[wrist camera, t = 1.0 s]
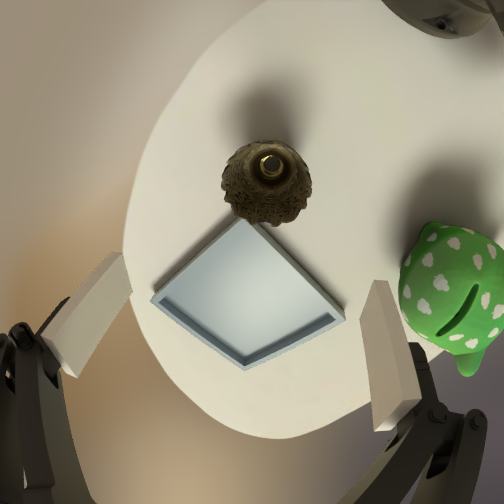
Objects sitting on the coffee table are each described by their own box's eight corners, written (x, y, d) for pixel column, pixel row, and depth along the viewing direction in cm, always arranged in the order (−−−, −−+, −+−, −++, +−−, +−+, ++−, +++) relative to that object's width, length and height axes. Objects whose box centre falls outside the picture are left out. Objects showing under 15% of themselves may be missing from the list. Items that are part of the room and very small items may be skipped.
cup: (310, 134, 27) (317, 147, 20) (302, 199, 31) (306, 232, 24) (238, 128, 27) (221, 139, 21) (236, 192, 31) (220, 223, 24)
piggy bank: (453, 309, 36) (486, 382, 23) (367, 281, 35) (392, 374, 22) (500, 237, 28) (556, 301, 16) (418, 186, 28) (488, 254, 15)
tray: (245, 210, 32) (242, 217, 30) (344, 310, 38) (345, 320, 36) (154, 292, 41) (149, 301, 39) (246, 362, 47) (244, 370, 45)
